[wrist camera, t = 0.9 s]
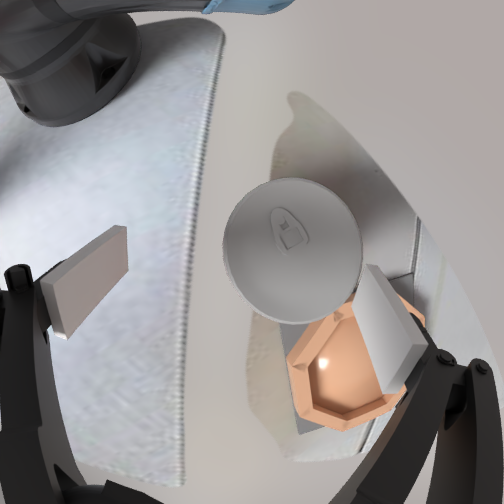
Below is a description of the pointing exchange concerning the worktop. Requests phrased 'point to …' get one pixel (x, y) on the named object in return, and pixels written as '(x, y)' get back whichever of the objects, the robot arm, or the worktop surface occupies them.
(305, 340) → the bowl
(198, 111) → the worktop surface
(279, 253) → the canned food
